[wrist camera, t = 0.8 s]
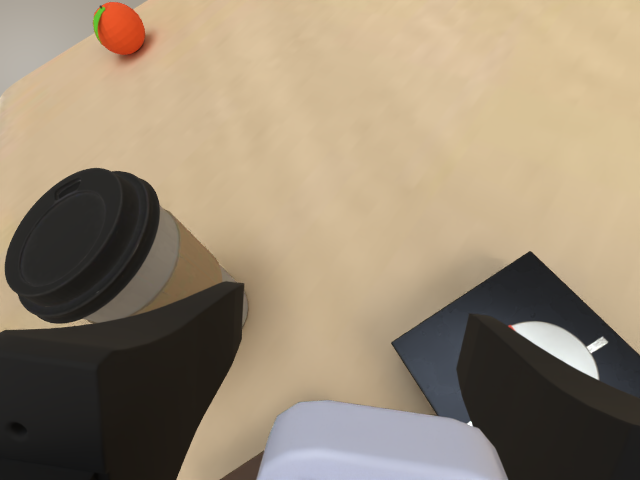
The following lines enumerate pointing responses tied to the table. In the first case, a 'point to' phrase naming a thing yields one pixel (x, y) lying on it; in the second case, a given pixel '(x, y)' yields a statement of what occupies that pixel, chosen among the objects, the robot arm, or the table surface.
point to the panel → (509, 308)
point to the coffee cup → (105, 252)
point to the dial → (559, 344)
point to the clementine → (118, 28)
